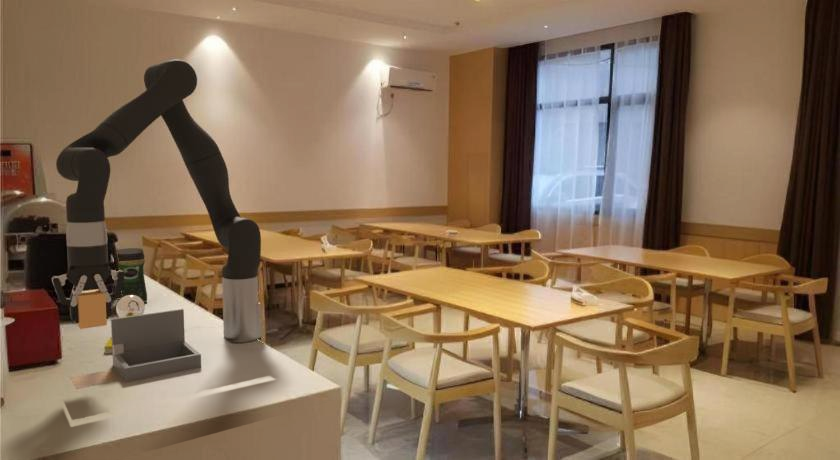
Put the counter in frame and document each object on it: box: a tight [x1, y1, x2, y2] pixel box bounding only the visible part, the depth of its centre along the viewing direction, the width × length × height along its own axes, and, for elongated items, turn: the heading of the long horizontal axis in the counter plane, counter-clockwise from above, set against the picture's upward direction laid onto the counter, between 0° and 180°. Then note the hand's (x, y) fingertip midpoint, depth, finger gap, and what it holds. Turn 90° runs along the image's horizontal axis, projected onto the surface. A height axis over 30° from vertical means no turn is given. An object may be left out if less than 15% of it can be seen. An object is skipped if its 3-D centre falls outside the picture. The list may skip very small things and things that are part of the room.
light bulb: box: [115, 295, 146, 318], centre depth 161 cm, size 7×7×12 cm
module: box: [76, 289, 108, 330], centre depth 128 cm, size 5×5×7 cm
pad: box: [70, 369, 119, 390], centre depth 130 cm, size 8×8×1 cm
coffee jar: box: [115, 247, 148, 304], centre depth 199 cm, size 10×8×19 cm
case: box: [110, 308, 202, 383], centre depth 138 cm, size 16×13×12 cm
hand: (91, 320), depth 128 cm, fingers closed on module, 5 cm apart
